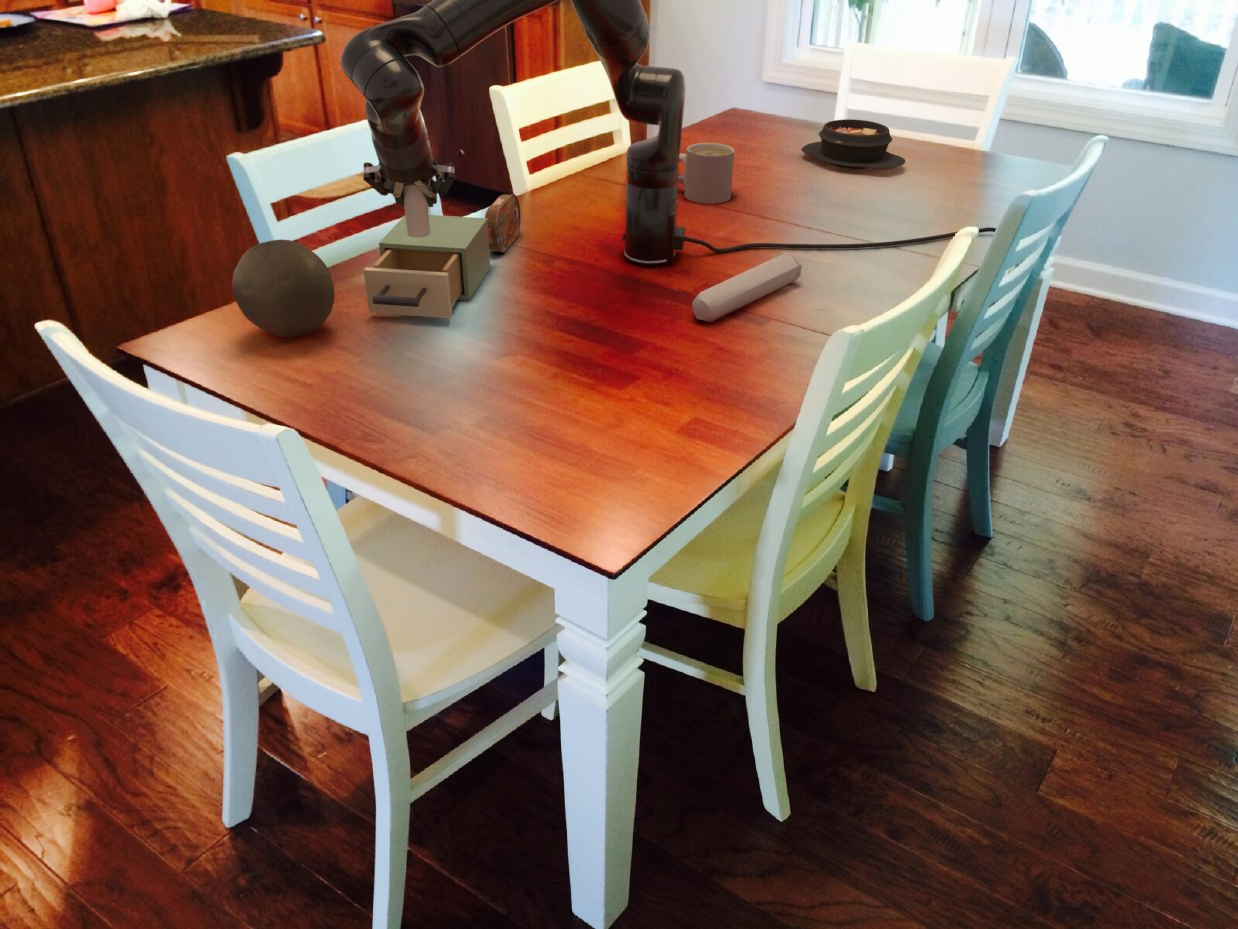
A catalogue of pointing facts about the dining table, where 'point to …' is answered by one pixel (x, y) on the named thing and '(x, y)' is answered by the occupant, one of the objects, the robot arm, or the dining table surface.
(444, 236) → the cabinet
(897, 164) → the casserole
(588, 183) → the dining table surface
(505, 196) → the tin
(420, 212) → the salt shaker
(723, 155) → the coffee mug
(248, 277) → the dark brown ball
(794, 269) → the tube
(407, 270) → the drawer
